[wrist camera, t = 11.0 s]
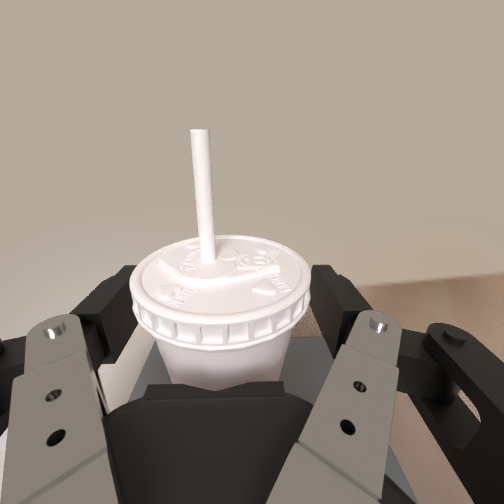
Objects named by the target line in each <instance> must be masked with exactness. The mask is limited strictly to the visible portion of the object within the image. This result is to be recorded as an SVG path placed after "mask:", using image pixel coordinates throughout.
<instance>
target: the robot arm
mask: <svg viewBox="0 0 504 504" xmlns="http://www.w3.org/2000/svg"><path fill="white" fill-rule="evenodd" d="M136 267H137V265H126V266H124V267H123V268H122V269H121V270H120V271H119V272H118V273H117V274H116V275H115V276H112V277H110V278H108V279H106V280H104V281H103V282H101V283H100V284H99V285H98V286H97V287H96V288H95V290H93V291H92V292H91V293H90V294H89V296H87V297H86V298H85V299H84V300H83V301H82V302H81V303H80V304H79V305H78V306H77V307H76V308H75V309H73V310H72V311H71V312H70V313H69V314H65V315H59V316H55V317H52V318H49V319H47V320H45V321H43V322H41V323H39V324H37V325H36V326H35V327H33V328H32V329H31V330H30V331H29V332H28V334H27V336H23V337H19V338H14V339H9V340H5V341H1V339H0V436H1V435H2V434H3V433H4V431H5V430H6V429H7V427H8V434H7V443H6V453H5V463H4V472H3V482H2V492H1V502H0V504H416V503H415V502H414V501H413V500H412V499H411V498H410V497H409V496H408V495H407V494H406V493H405V492H404V491H403V490H402V489H401V488H400V487H399V486H398V485H397V484H396V483H395V482H394V481H393V480H392V479H391V478H390V477H389V476H388V475H387V474H385V466H386V459H387V452H388V445H389V438H390V431H391V424H392V417H393V410H394V403H395V396H396V391H399V392H403V393H407V394H408V395H409V397H410V399H411V400H412V402H413V404H414V405H415V407H416V408H417V410H418V412H419V413H420V415H421V417H422V418H423V420H424V422H425V423H426V425H427V426H428V428H429V430H430V431H431V433H432V435H433V436H434V438H435V440H436V441H437V443H438V445H439V446H440V448H441V449H442V451H443V453H444V454H445V456H446V458H447V459H448V461H449V463H450V464H451V466H452V467H453V469H454V471H455V472H456V474H457V476H458V477H459V479H460V481H461V482H462V484H463V485H464V487H465V489H466V490H467V492H468V494H469V495H470V497H471V499H472V500H473V502H474V504H504V363H503V362H502V361H501V360H500V359H499V358H498V357H497V356H495V355H494V354H493V353H492V352H491V351H490V350H489V349H487V348H486V347H485V346H484V345H483V344H482V343H481V342H479V341H478V340H477V339H476V338H475V337H473V336H472V335H471V334H469V333H468V332H466V331H464V330H462V329H460V328H458V327H455V326H452V325H449V324H444V323H433V324H430V325H429V327H428V329H427V331H426V334H425V333H420V332H415V331H410V330H405V329H402V328H401V325H400V324H399V323H398V321H396V320H395V319H394V318H393V317H391V316H389V315H387V314H385V313H383V312H379V311H375V310H373V309H372V307H371V306H370V305H369V304H368V302H367V301H366V300H365V299H364V297H363V296H362V295H361V294H359V291H358V290H357V289H356V288H355V286H354V285H353V284H352V283H351V281H350V280H348V279H347V278H345V277H344V276H342V275H337V274H336V273H335V271H334V270H333V269H332V267H331V266H330V265H313V267H312V270H311V282H310V288H309V290H310V298H311V299H310V302H309V304H310V307H311V309H312V311H313V314H314V316H315V318H316V321H317V323H318V325H319V327H320V330H321V332H322V334H323V337H324V339H325V341H326V344H327V346H328V348H329V351H330V353H331V355H332V358H333V360H334V359H335V361H334V363H333V365H332V367H331V369H330V372H329V374H328V376H327V378H326V380H325V383H324V385H323V387H322V389H321V391H320V394H319V396H318V398H317V400H316V402H315V404H314V405H313V404H311V403H310V402H308V401H306V400H305V399H303V398H300V397H298V396H296V395H293V394H290V393H286V392H285V389H284V384H283V381H261V382H248V383H244V384H240V385H237V386H233V387H230V388H226V389H222V390H218V391H212V390H207V389H203V388H199V387H194V386H190V385H186V384H149V385H148V386H147V388H146V391H145V393H144V396H143V397H141V398H138V399H135V400H133V401H130V402H128V403H126V404H124V405H122V406H120V407H118V408H117V409H115V410H113V411H112V412H109V409H108V405H107V401H106V397H105V394H104V390H103V386H102V382H101V379H100V375H99V372H98V369H99V367H100V366H101V364H115V363H116V361H117V359H118V357H119V356H120V354H121V352H122V351H123V349H124V347H125V345H126V344H127V342H128V340H129V339H130V337H131V335H132V333H133V332H134V330H135V328H136V327H137V325H138V321H137V319H136V316H135V314H134V312H133V310H132V307H133V299H132V295H131V291H130V286H129V284H130V277H131V275H132V272H133V271H134V269H135V268H136ZM460 389H461V390H462V391H463V392H464V393H465V395H466V396H467V397H468V398H469V399H470V400H471V402H472V403H473V404H474V405H475V407H476V408H477V410H478V412H479V415H480V419H481V423H480V422H479V420H478V419H477V418H476V417H475V415H474V414H473V413H472V412H471V410H470V409H469V408H468V407H467V405H466V404H465V403H464V402H463V401H462V399H461V398H460V397H459V396H458V393H459V391H460Z"/></svg>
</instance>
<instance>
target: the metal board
mask: <svg viewBox="0 0 504 504" xmlns="http://www.w3.org/2000/svg"><path fill="white" fill-rule="evenodd" d="M334 361H335V359H334V360H333V358H332V355H331V353H330V351H329V348H328V346H327V344H326V341H325V339H324V337H291V338H290V342H289V345H288V348H287V352H286V355H285V359H284V362H283V366H282V370H281V373H280V377H279V380H278V381H283V384H284V389H285V392H286V393H290V394H293V395H296V396H298V397H300V398H303V399H305V400H306V401H308V402H310V403H311V404H313V405H314V404H315V402H316V400H317V398H318V396H319V394H320V391H321V389H322V387H323V385H324V383H325V380H326V378H327V376H328V374H329V372H330V369H331V367H332V365H333V363H334ZM149 384H172V381H171V378H170V376H169V373H168V371H167V368H166V366H165V363H164V361H163V358H162V356H161V354H160V352H159V349H158V346H157V343H156V341H155V342H154V344H153V347H152V349H151V351H150V353H149V356H148V358H147V360H146V362H145V365H144V367H143V369H142V371H141V374H140V376H139V378H138V380H137V383H136V385H135V387H134V389H133V392H132V394H131V396H130V398H129V401H128V402H130V401H133V400H135V399H138V398H141V397H143V396H144V393H145V391H146V388H147V386H148V385H149ZM385 474H387V475H388V476H389V477H390V478H391V479H392V480H393V481H394V482H395V483H396V484H397V485H398V486H399V487H400V488H401V489H402V490H403V491H404V492H405V493H406V494H407V495H408V496H409V497H410V498H411V499H412V500H413V501H414V502H415V503H416V504H418V502H417V499H416V497H415V495H414V493H413V491H412V489H411V487H410V485H409V483H408V481H407V479H406V477H405V475H404V473H403V471H402V469H401V467H400V465H399V463H398V461H397V459H396V457H395V455H394V453H393V451H392V449H391V447H390V445H388V452H387V459H386V466H385Z"/></svg>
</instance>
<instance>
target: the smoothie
mask: <svg viewBox="0 0 504 504" xmlns="http://www.w3.org/2000/svg"><path fill="white" fill-rule="evenodd" d="M190 135H191V147H192V159H193V172H194V184H195V195H196V208H197V220H198V233H199V237H197V238H192V239H187V240H183V241H180V242H176V243H174V244H171V245H168V246H165V247H163V248H161V249H159V250H157V251H155V252H154V253H152V254H150V255H149V256H147V257H146V258H145V259H144V260H142V261H141V262H140V263H139V264H138V265H137V267H136V268H135V269H134V271H133V272H132V275H131V277H130V284H129V286H130V291H131V295H132V299H133V307H132V310H133V312H134V314H135V316H136V319H137V321H138V323H139V325H140V326H142V327H143V328H144V329H145V330H146V331H147V332H149V333H150V334H151V335H152V336H153V337H154V338H155V341H156V343H157V346H158V349H159V352H160V354H161V356H162V358H163V361H164V363H165V366H166V368H167V371H168V373H169V376H170V378H171V381H172V384H186V385H190V386H194V387H199V388H203V389H207V390H212V391H218V390H222V389H226V388H230V387H233V386H237V385H240V384H244V383H248V382H261V381H278V380H279V377H280V373H281V370H282V366H283V362H284V359H285V355H286V352H287V348H288V345H289V342H290V338H291V334H292V330H293V327H294V326H295V325H296V324H297V322H298V321H299V320H300V319H301V318H302V317H303V316H304V315H305V314H306V311H307V308H308V305H309V302H310V299H311V298H310V290H309V288H310V282H311V272H310V268H309V266H308V264H307V263H306V261H305V260H304V259H303V258H302V257H301V256H300V255H299V254H298V253H296V252H295V251H293V250H292V249H290V248H288V247H287V246H284V245H282V244H280V243H277V242H274V241H271V240H267V239H263V238H258V237H252V236H244V235H215V227H214V209H213V190H212V170H211V151H210V132H209V130H200V129H195V130H193V129H192V130H190Z"/></svg>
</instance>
